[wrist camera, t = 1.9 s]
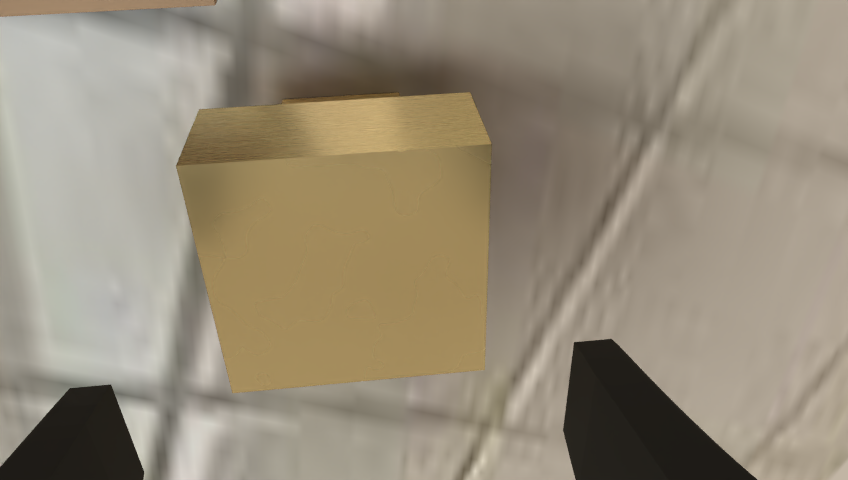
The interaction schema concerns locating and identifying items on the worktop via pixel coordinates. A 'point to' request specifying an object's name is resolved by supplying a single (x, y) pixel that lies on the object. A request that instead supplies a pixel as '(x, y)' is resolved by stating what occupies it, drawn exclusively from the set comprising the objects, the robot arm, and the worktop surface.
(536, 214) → the worktop surface
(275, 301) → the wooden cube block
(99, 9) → the brown wooden block
